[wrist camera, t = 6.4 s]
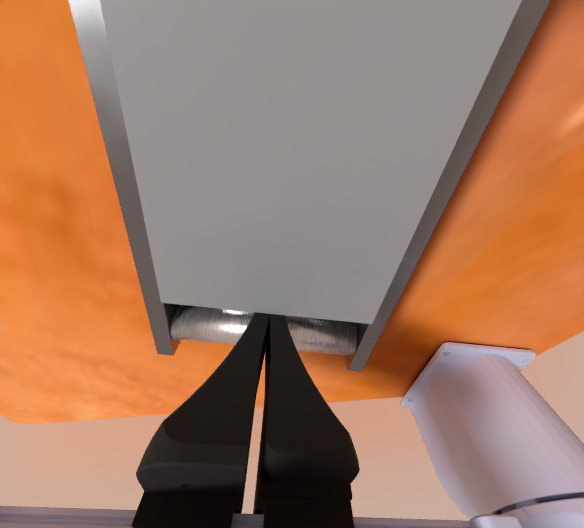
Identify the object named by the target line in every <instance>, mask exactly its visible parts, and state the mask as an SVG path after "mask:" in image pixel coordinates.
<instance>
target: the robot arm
mask: <svg viewBox="0 0 584 528" xmlns="http://www.w3.org/2000/svg"><path fill="white" fill-rule="evenodd" d="M265 349H266V351H265ZM264 355H265V400H264V411H263V422H262V432H261V442H260V453H259V462H258V472H257V482H256V491H255V501H254V511H253V514H241V512H242V507H243V497H244V490H245V481H246V473H247V465H248V457H249V448H250V440H251V431H252V424H253V416H254V408H255V400H256V394H257V389H258V384H259V379H260V374H261V369H262V364H263V359H264ZM535 357H536V354H535V353H534V352H533V351H532V350H525V349H515V348H504V347H494V346H484V345H474V344H464V343H454V342H446V343H444V344H442V345H441V346H440V348H439V349H438V351H437V352H436V353H435V355H434V356H433V357H432V359H431V360H430V361H429V363H428V364H427V366H426V367H425V368H424V370H423V371H422V372H421V374H420V375H419V376H418V378H417V379H416V380H415V382H414V383H413V385H412V386H411V387H410V389H409V390H408V391H407V393H406V394H405V395H404V397H403V398H402V400H401V401H400V404H401V407H404V408H410V409H411V411H412V414H413V416H414V419H415V421H416V424H417V426H418V429H419V431H420V434H421V436H422V438H423V441H424V443H425V446H426V448H427V451H428V453H429V455H430V458H431V461H432V463H433V466H434V468H435V470H436V473H437V475H438V477H439V480H440V482H441V484H442V486H443V487H444V489H445V491H446V492H447V494H448V495H449V497H450V498H451V499H452V501H453V502H454V503H455V504H456V506H457V507H458V508H459V509H460V510H461V511H462V512H463V513H464V514H465V515H466V516H467V517H468V518H470V521H457V520H426V519H393V518H364V517H353V515H352V508H351V502H350V500H352V491H351V485H350V483H351V482H352V481H353V480H354V479H355V477H356V476H357V474H358V472H359V470H360V469H359V464H358V459H357V455H356V452H355V449H354V445H353V442H352V440H351V437H350V435H349V432H348V431H347V430H346V429H345V427H344V426H343V425H342V424H341V422H340V421H339V420H338V418H337V417H336V416H335V414H334V413H333V412H332V410H331V409H330V407H329V406H328V405H327V403H326V402H325V400H324V399H323V397H322V396H321V394H320V392H319V391H318V389H317V388H316V386H315V385H314V383H313V381H312V379H311V378H310V376H309V374H308V372H307V370H306V368H305V367H304V365H303V363H302V361H301V358H300V356H299V354H298V352H297V349H296V347H295V345H294V342H293V339H292V336H291V334H290V331H289V328H288V324H287V321H286V316H285V315H278V314H267V313H258V312H254V314H253V316H252V318H251V320H250V322H249V324H248V326H247V328H246V329H245V331H244V333H243V334H242V336H241V337H240V339H239V340H238V342H237V343H236V345H235V346H234V348H233V349H232V350H231V352H230V353H229V355H228V356H227V357H226V358H225V360H224V361H223V362H222V363H221V365H220V366H219V367H218V368H217V369H216V370H215V372H214V373H213V374H212V375H211V376H210V377H209V378H208V379H207V380H206V382H205V383H204V384H203V385H202V386H201V387H200V388H199V389H198V390H197V391H196V392H195V393H194V394H193V395H192V396H191V397H190V398H189V399H188V400H186V401H185V402H184V403H183V404H182V405H181V406H180V407H179V408H178V409H176V410H175V411H174V412H173V413H172V414H171V415H170V416H169V417H167V418H166V419H165V420H164V421H163V423H162V424H161V425H160V427H159V428H158V430H157V432H156V433H155V435H154V436H153V438H152V440H151V442H150V444H149V445H148V447H147V449H146V451H145V453H144V455H143V458H142V460H141V462H140V465H139V467H138V470H137V472H136V476H137V479H138V481H139V483H140V484H141V486H142V488H143V489H144V494H143V496H142V499H141V502H140V504H139V507H138V509H137V510H110V509H79V508H48V507H15V506H0V528H584V444H583V443H582V441H581V440H580V439H579V438H578V437H577V436H576V435H575V434H574V433H573V431H572V430H571V429H570V428H569V427H568V426H567V425H566V423H564V421H563V420H562V419H561V418H560V417H559V416H558V415H557V414H556V412H555V411H554V410H553V409H552V408H551V407H550V406H549V404H548V403H547V402H546V401H545V400H544V399H543V398H542V397H541V395H540V394H539V393H538V392H537V391H536V390H535V389H534V388H533V387H532V385H531V384H530V383H529V382H528V381H527V380H526V379H525V377H524V376H523V375H522V374H521V373H520V371H521V370H522V369H523V368H524V367H525V366H526V365H528V364H529V363H530V362H531V361H532V360H533V359H534V358H535Z"/></svg>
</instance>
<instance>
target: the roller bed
mask: <svg viewBox="0 0 584 528" xmlns="http://www.w3.org/2000/svg"><path fill="white" fill-rule="evenodd" d="M549 2H550V0H522V1H521V3H520V5H519V8H518V10H517V12H516V14H515V16H514V18H513V21H512V23H511V25H510V27H509V29H508V31H507V34H506V36H505V38H504V40H503V42H502V44H501V47H500V49H499V51H498V53H497V55H496V57H495V59H494V62H493V64H492V66H491V68H490V70H489V72H488V75H487V77H486V79H485V81H484V83H483V85H482V88H481V90H480V92H479V94H478V96H477V98H476V101H475V103H474V105H473V107H472V109H471V111H470V114H469V116H468V118H467V120H466V122H465V124H464V127H463V129H462V131H461V133H460V135H459V137H458V139H457V142H456V144H455V146H454V148H453V150H452V152H451V155H450V157H449V159H448V161H447V163H446V165H445V168H444V170H443V172H442V174H441V176H440V178H439V181H438V183H437V185H436V187H435V189H434V191H433V194H432V196H431V198H430V200H429V202H428V204H427V207H426V209H425V211H424V213H423V215H422V217H421V220H420V222H419V224H418V226H417V228H416V230H415V232H414V235H413V237H412V239H411V241H410V243H409V245H408V248H407V250H406V252H405V254H404V256H403V258H402V261H401V263H400V265H399V267H398V269H397V271H396V274H395V276H394V278H393V280H392V282H391V284H390V287H389V289H388V291H387V293H386V295H385V297H384V300H383V302H382V304H381V306H380V308H379V310H378V313H377V315H376V317H375V319H374V321H373V323H372V324H365V323H356V322H346V321H336V320H326V319H316V318H307V317H297V316H287V315H285V316H286V321H287V324H288V328H289V331H290V334H291V336H292V339H293V342H294V345H295V347H296V349H297V351H306V352H317V353H329V354H340V355H345V358H346V363H347V367H348V370H351V371H363V369H364V367H365V365H366V363H367V361H368V359H369V357H370V355H371V353H372V351H373V349H374V347H375V345H376V343H377V341H378V339H379V337H380V335H381V333H382V331H383V329H384V327H385V325H386V323H387V321H388V319H389V317H390V315H391V313H392V311H393V309H394V308H395V306H396V304H397V302H398V300H399V298H400V296H401V294H402V292H403V290H404V288H405V286H406V284H407V282H408V280H409V278H410V276H411V274H412V272H413V270H414V268H415V266H416V264H417V262H418V260H419V258H420V256H421V254H422V252H423V250H424V248H425V246H426V244H427V242H428V241H429V239H430V237H431V235H432V233H433V231H434V229H435V227H436V225H437V223H438V221H439V219H440V217H441V215H442V213H443V211H444V209H445V207H446V205H447V203H448V201H449V199H450V197H451V195H452V193H453V191H454V189H455V187H456V185H457V183H458V181H459V179H460V177H461V175H462V173H463V172H464V170H465V168H466V166H467V164H468V162H469V160H470V158H471V156H472V154H473V152H474V150H475V148H476V146H477V144H478V142H479V140H480V138H481V136H482V134H483V132H484V130H485V128H486V126H487V124H488V122H489V120H490V118H491V116H492V114H493V112H494V110H495V108H496V106H497V104H498V103H499V101H500V99H501V97H502V95H503V93H504V91H505V89H506V87H507V85H508V83H509V81H510V79H511V77H512V75H513V73H514V71H515V69H516V67H517V65H518V63H519V61H520V59H521V57H522V55H523V53H524V51H525V49H526V47H527V45H528V43H529V41H530V39H531V37H532V35H533V34H534V32H535V30H536V28H537V26H538V24H539V22H540V20H541V18H542V16H543V14H544V12H545V10H546V8H547V6H548V4H549ZM69 4H70V8H71V12H72V16H73V20H74V24H75V28H76V32H77V36H78V40H79V44H80V47H81V51H82V55H83V59H84V63H85V67H86V71H87V75H88V79H89V83H90V87H91V91H92V95H93V99H94V103H95V107H96V111H97V115H98V119H99V123H100V127H101V131H102V135H103V139H104V143H105V147H106V151H107V155H108V159H109V163H110V167H111V171H112V175H113V179H114V183H115V186H116V190H117V194H118V198H119V202H120V206H121V210H122V214H123V218H124V222H125V226H126V230H127V234H128V238H129V242H130V246H131V250H132V254H133V258H134V262H135V266H136V270H137V274H138V278H139V282H140V286H141V290H142V294H143V298H144V302H145V306H146V310H147V314H148V318H149V322H150V326H151V329H152V333H153V337H154V341H155V345H156V349H157V353H158V354H163V355H174V353H175V351H176V349H177V347H178V345H179V343H180V341H181V340H184V341H195V342H207V343H218V344H229V345H236V343H237V342H238V340H239V339H240V337H241V336H242V334H243V333H244V331H245V329H246V328H247V326H248V324H249V322H250V320H251V318H252V316H253V314H254V312H248V311H238V310H228V309H218V308H209V307H199V306H189V305H179V304H169V303H161V300H160V295H159V290H158V285H157V280H156V275H155V270H154V265H153V260H152V255H151V250H150V245H149V241H148V236H147V231H146V226H145V221H144V216H143V211H142V206H141V201H140V196H139V191H138V186H137V181H136V176H135V171H134V167H133V162H132V157H131V152H130V147H129V142H128V137H127V132H126V127H125V122H124V117H123V112H122V107H121V102H120V97H119V93H118V88H117V83H116V78H115V73H114V68H113V63H112V58H111V53H110V48H109V43H108V38H107V33H106V28H105V23H104V18H103V14H102V9H101V4H100V0H69Z"/></svg>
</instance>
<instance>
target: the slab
mask: <svg viewBox="0 0 584 528" xmlns="http://www.w3.org/2000/svg"><path fill="white" fill-rule="evenodd" d="M521 1H522V0H100V4H101V9H102V14H103V18H104V23H105V28H106V33H107V38H108V43H109V48H110V53H111V58H112V63H113V68H114V73H115V78H116V83H117V88H118V93H119V97H120V102H121V107H122V112H123V117H124V122H125V127H126V132H127V137H128V142H129V147H130V152H131V157H132V162H133V167H134V171H135V176H136V181H137V186H138V191H139V196H140V201H141V206H142V211H143V216H144V221H145V226H146V231H147V236H148V241H149V245H150V250H151V255H152V260H153V265H154V270H155V275H156V280H157V285H158V290H159V295H160V300H161V303H169V304H179V305H189V306H199V307H209V308H218V309H228V310H238V311H248V312H258V313H267V314H278V315H287V316H297V317H307V318H316V319H326V320H336V321H346V322H356V323H365V324H372V323H373V321H374V319H375V317H376V315H377V313H378V310H379V308H380V306H381V304H382V302H383V300H384V297H385V295H386V293H387V291H388V289H389V287H390V284H391V282H392V280H393V278H394V276H395V274H396V271H397V269H398V267H399V265H400V263H401V261H402V258H403V256H404V254H405V252H406V250H407V248H408V245H409V243H410V241H411V239H412V237H413V235H414V232H415V230H416V228H417V226H418V224H419V222H420V220H421V217H422V215H423V213H424V211H425V209H426V207H427V204H428V202H429V200H430V198H431V196H432V194H433V191H434V189H435V187H436V185H437V183H438V181H439V178H440V176H441V174H442V172H443V170H444V168H445V165H446V163H447V161H448V159H449V157H450V155H451V152H452V150H453V148H454V146H455V144H456V142H457V139H458V137H459V135H460V133H461V131H462V129H463V127H464V124H465V122H466V120H467V118H468V116H469V114H470V111H471V109H472V107H473V105H474V103H475V101H476V98H477V96H478V94H479V92H480V90H481V88H482V85H483V83H484V81H485V79H486V77H487V75H488V72H489V70H490V68H491V66H492V64H493V62H494V59H495V57H496V55H497V53H498V51H499V49H500V47H501V44H502V42H503V40H504V38H505V36H506V34H507V31H508V29H509V27H510V25H511V23H512V21H513V18H514V16H515V14H516V12H517V10H518V8H519V5H520V3H521Z"/></svg>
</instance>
